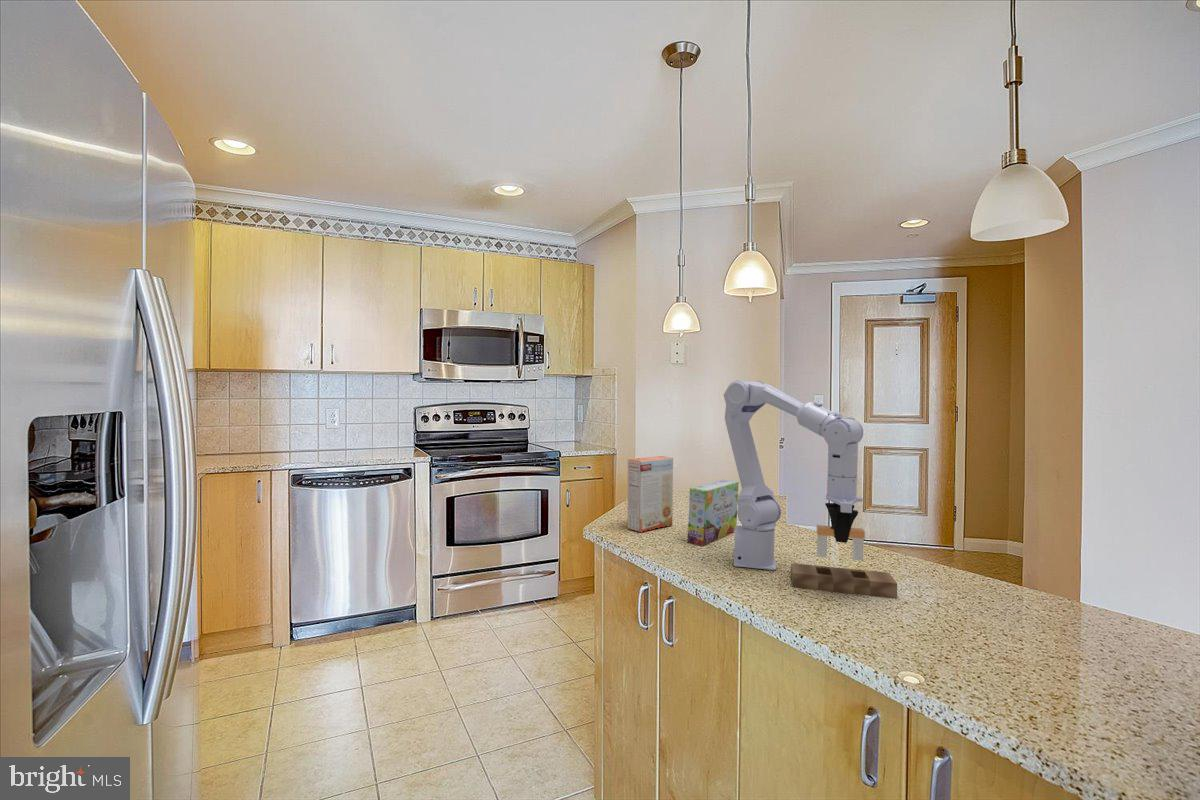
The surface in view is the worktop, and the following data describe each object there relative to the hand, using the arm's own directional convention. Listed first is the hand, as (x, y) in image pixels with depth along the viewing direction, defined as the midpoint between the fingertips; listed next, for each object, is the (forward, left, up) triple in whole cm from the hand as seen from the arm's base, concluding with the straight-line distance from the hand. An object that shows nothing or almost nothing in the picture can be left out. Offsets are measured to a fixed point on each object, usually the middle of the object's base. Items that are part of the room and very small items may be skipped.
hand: (840, 539), depth 117 cm
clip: (0, 0, -4) cm, 4 cm away
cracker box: (-47, +37, -11) cm, 61 cm away
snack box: (-28, +33, -11) cm, 45 cm away
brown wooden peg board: (+1, +1, -10) cm, 10 cm away
